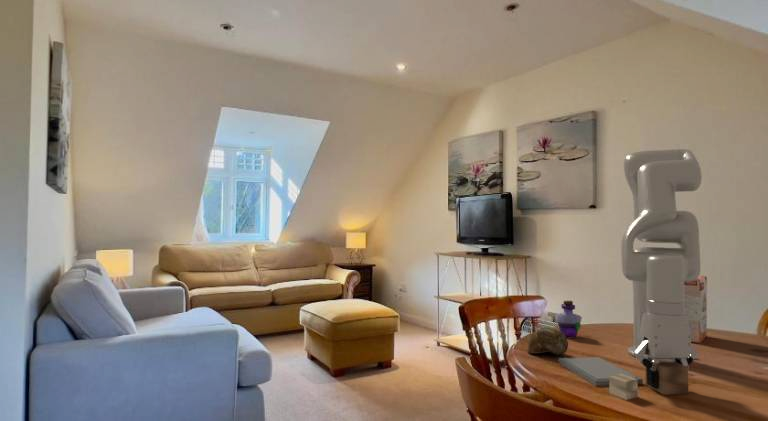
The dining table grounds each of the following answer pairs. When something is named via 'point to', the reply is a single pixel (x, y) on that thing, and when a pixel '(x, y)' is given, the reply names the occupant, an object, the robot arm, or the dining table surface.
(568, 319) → the potion bottle
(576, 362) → the plate
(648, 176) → the robot arm
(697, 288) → the cracker box
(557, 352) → the grey-brown rock
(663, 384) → the walnut cube
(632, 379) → the beech block
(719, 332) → the dining table surface
